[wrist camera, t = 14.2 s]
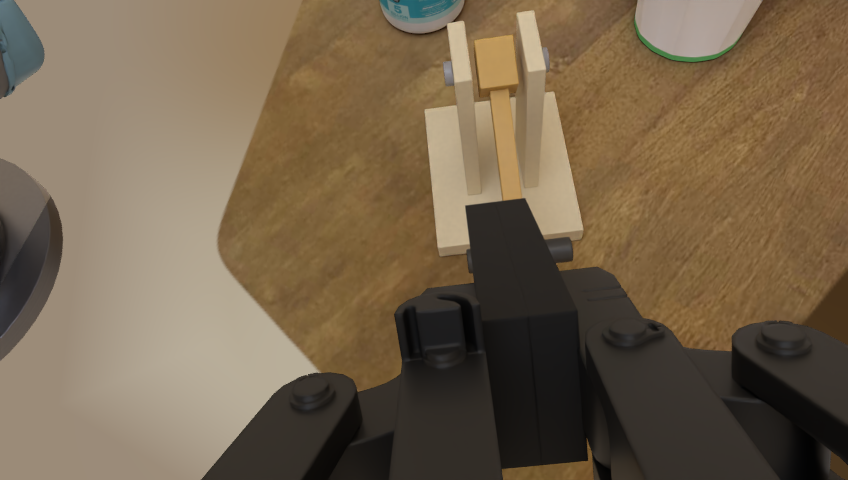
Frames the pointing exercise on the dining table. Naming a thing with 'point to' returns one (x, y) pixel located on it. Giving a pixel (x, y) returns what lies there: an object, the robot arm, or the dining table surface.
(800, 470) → the robot arm
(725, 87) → the dining table surface
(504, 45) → the latch lever
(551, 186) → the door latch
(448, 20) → the pill bottle
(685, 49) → the cup
